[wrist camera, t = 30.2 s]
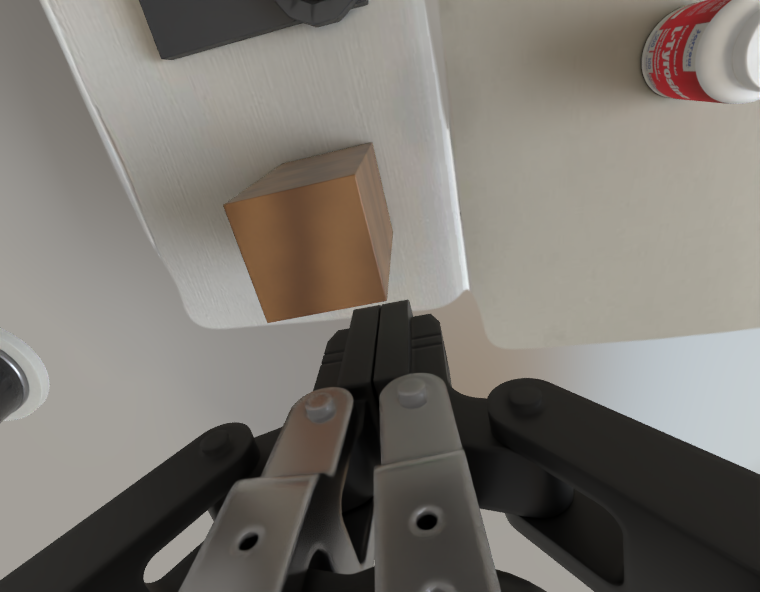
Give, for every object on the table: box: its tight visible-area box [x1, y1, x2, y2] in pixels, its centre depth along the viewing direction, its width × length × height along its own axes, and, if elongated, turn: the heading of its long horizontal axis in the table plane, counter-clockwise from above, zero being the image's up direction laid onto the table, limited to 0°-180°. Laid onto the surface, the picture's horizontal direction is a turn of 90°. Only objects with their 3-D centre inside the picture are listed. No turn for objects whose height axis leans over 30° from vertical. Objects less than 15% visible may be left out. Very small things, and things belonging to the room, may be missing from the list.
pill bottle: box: [642, 0, 760, 104], centre depth 29 cm, size 6×6×11 cm
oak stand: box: [223, 142, 393, 323], centre depth 34 cm, size 8×8×14 cm
